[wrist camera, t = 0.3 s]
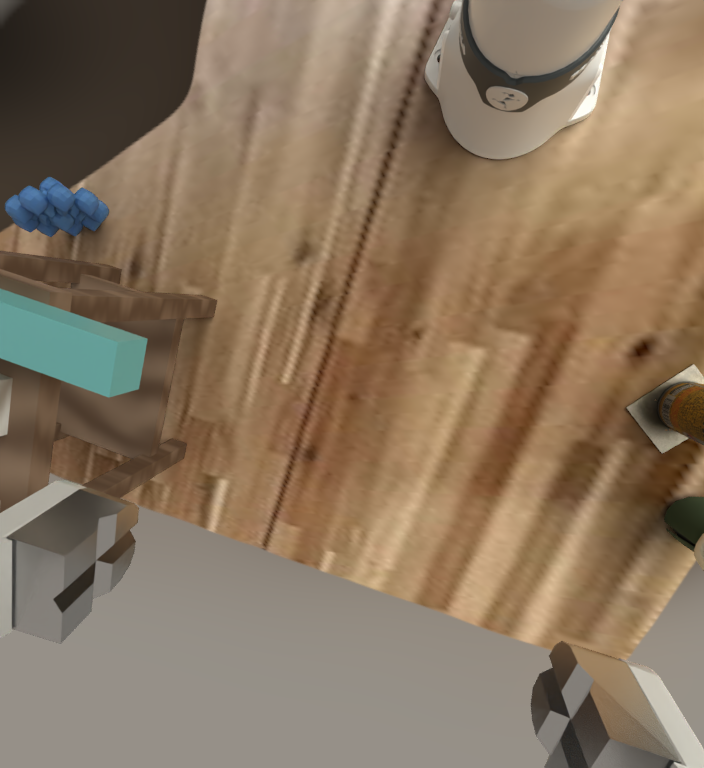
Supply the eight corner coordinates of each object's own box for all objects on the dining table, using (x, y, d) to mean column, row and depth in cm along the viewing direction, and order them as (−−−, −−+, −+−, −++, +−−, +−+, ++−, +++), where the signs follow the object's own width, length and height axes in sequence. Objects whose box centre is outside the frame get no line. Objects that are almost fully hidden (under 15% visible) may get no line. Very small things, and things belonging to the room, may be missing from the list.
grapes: (123, 177, 55) (42, 143, 44) (137, 228, 56) (62, 207, 45) (54, 201, 58) (-40, 174, 46) (69, 249, 59) (-20, 235, 47)
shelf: (105, 262, 58) (-241, 214, 28) (219, 298, 56) (-21, 289, 26) (82, 421, 64) (-225, 524, 34) (185, 460, 62) (-44, 606, 32)
